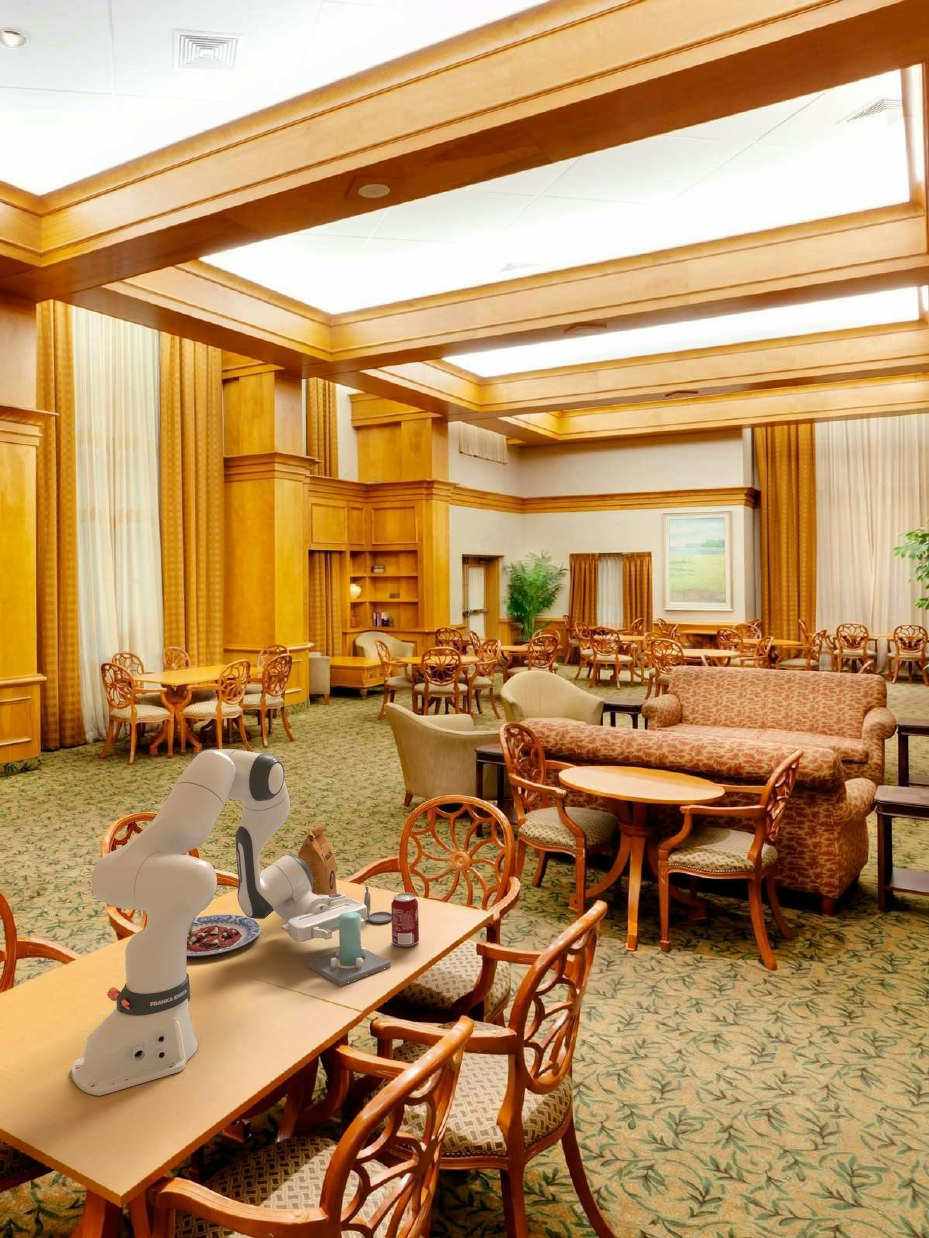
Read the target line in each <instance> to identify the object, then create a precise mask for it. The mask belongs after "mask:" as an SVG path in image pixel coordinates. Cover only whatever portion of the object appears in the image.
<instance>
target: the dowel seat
mask: <svg viewBox="0 0 929 1238" xmlns="http://www.w3.org/2000/svg"><path fill="white" fill-rule="evenodd" d="M388 967H389V968H391V961H390V960H388V959H386V958H383V957H382V956H379V955H378V954H376V953H374V952H373V951H372V952H371V951H369V949H368V950H367V947H366V946H361V958H356V965H355V966H343V965H341V964H340V946H339V947H335V951H334V952H332V953H328V954H326V955H322V956H320V957H318V958H314V959H312V960H310V961H309V960H308V961H307V968H309V969H310V968H311V970H312V971H314V972H316V973H317V974H319V975H321V976H322V975H323V977H324V978H326V979H328V980H329V979H330V980H329V981H331V982H333V983H334V982H336V983H337V984H336V983H335V984H336V985H338V986H340V985H341V986H340V987H343V986H345V985H344V984H346V983H348V982H351V983H353V982H355V981H354V980H356V979H359V980H361V979H363V978H362V977H364V976H366V975H369V976H371V975H373V974H372V973H374V972H376V973H378V971H379V972H381V971H383V970H382V969H384V968H386V969H388ZM380 970H381V971H380ZM384 970H385V969H384ZM370 974H371V975H370ZM374 974H375V973H374ZM366 977H367V976H366ZM360 978H361V979H360ZM364 978H365V977H364ZM352 981H353V982H352ZM356 981H357V980H356ZM348 984H349V983H348ZM342 985H343V986H342ZM346 985H347V984H346Z"/></svg>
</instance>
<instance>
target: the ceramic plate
mask: <svg viewBox="0 0 929 1238" xmlns="http://www.w3.org/2000/svg"><path fill="white" fill-rule="evenodd" d="M261 930H262V926H261V924H260V922H259V921H257V919H254V918H249V917H247V916H246V915H245V916H244V915H240V914H239V915H238V914H229V913H228V914H225V913H224V914H210V915H204V916H199V917H198V916H197V917H196V918H195V919H194V921H193V922H192V924H191V927H190V930H189V933H188V938H187V957H200V956H211V955H217V954H221V953H225V952H226V953H227V952H230V951H233V950H236V949H238V948H241V947H244V946H246V945H247V944H249V943H250V942H253V941H254V940H255V939H256V938H257V937H258V936H259V935H260V933H261Z"/></svg>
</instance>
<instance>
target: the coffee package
mask: <svg viewBox="0 0 929 1238" xmlns="http://www.w3.org/2000/svg"><path fill="white" fill-rule="evenodd" d="M325 831H327V827H326V825H325V824H320V825H318V826H316V827H315V828H313V829H311V830H310V831H309V833H308V834H307V835H306V838H305V840H304V841H303V843H302V845H301V846H300V849H299V851H298V853H297V857H299V858H301V859H302V860H303V861H304V862H305V863H306V864H307V865H308V867H309V868H310V871H311V873H312V877H313V889H312V893H313V894H316V895H333V894H338V893H337V879H336V877H337V875H336V874H337V867H336V866H337V863H336V862H337V861H336V858H335V855H334V852H333V850H332V848H331V847H330V845H329V844H328V842H327V839H326V837H325V834H324V832H325Z"/></svg>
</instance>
